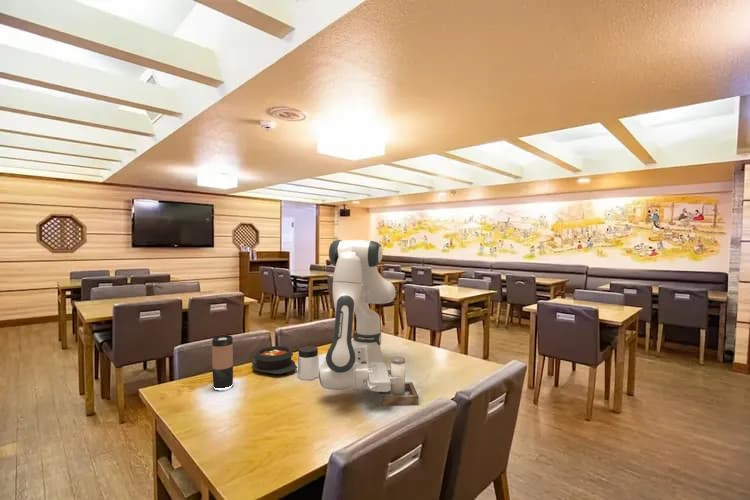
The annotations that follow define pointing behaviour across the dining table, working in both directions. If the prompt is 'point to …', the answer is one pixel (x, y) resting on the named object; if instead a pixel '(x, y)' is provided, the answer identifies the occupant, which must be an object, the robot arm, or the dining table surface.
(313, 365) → the jar
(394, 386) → the canister
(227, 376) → the travel mug
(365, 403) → the dining table surface
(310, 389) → the dining table surface
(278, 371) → the casserole
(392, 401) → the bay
